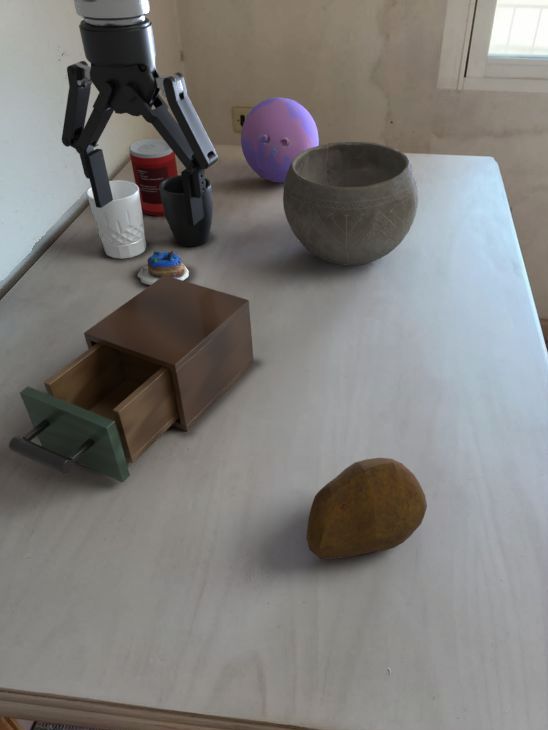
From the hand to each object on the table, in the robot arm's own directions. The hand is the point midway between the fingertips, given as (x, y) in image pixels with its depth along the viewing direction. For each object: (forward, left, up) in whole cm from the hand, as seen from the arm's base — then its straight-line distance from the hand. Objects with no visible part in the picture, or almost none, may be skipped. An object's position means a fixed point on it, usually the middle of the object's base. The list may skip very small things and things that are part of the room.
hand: (149, 212), depth 81 cm
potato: (+41, -23, -15) cm, 50 cm away
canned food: (-23, +28, -15) cm, 39 cm away
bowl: (+15, +29, -15) cm, 36 cm away
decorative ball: (-10, +50, -15) cm, 53 cm away
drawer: (+11, -25, -14) cm, 31 cm away
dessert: (-7, +8, -15) cm, 18 cm away
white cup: (-18, +12, -15) cm, 26 cm away
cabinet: (+11, -12, -15) cm, 22 cm away
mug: (-11, +22, -15) cm, 29 cm away
